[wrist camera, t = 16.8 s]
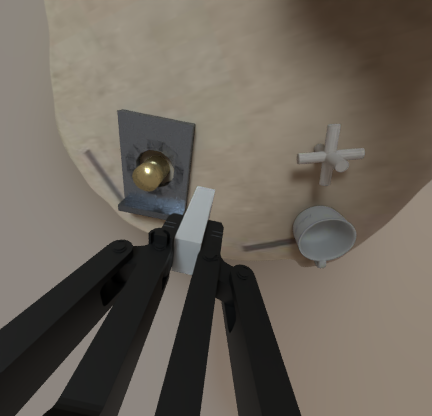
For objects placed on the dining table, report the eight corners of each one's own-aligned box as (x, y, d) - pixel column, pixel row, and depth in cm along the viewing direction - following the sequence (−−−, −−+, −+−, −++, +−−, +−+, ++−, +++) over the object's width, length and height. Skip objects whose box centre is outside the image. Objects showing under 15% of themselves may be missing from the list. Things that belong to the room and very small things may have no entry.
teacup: (295, 197, 44) (306, 217, 37) (347, 201, 43) (367, 222, 36) (282, 245, 51) (289, 270, 44) (326, 249, 50) (340, 274, 43)
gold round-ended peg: (146, 153, 42) (131, 163, 36) (170, 157, 42) (158, 169, 36) (147, 174, 45) (133, 188, 39) (169, 179, 45) (158, 193, 39)
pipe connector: (290, 175, 41) (303, 198, 33) (293, 123, 36) (309, 134, 28) (342, 171, 40) (370, 194, 31) (353, 116, 35) (390, 126, 26)
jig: (122, 109, 38) (108, 112, 34) (195, 123, 38) (189, 128, 34) (129, 199, 48) (118, 210, 44) (186, 210, 48) (180, 222, 44)
